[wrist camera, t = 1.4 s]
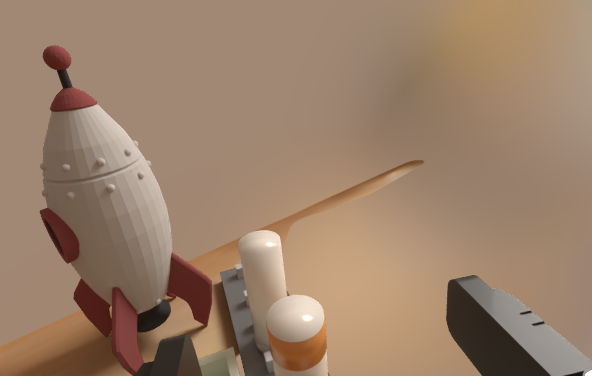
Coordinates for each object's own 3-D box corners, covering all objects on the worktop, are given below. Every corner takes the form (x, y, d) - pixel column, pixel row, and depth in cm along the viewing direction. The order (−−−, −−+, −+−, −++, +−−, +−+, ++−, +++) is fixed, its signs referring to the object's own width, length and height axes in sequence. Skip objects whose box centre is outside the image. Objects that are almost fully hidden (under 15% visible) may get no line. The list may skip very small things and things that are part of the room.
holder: (285, 536, 22) (280, 514, 20) (222, 281, 45) (217, 263, 44) (379, 486, 24) (380, 463, 22) (271, 266, 47) (269, 248, 46)
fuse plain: (261, 363, 32) (242, 259, 26) (252, 334, 35) (233, 236, 30) (298, 349, 33) (286, 247, 27) (286, 322, 36) (273, 226, 31)
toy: (90, 338, 38) (-45, 54, 25) (175, 285, 45) (103, 42, 32) (134, 399, 31) (-22, 49, 18) (226, 325, 38) (160, 36, 25)
